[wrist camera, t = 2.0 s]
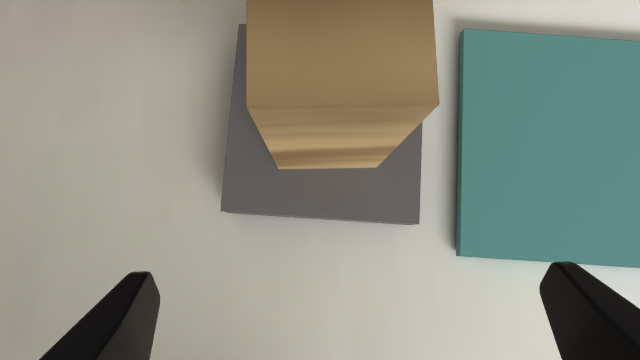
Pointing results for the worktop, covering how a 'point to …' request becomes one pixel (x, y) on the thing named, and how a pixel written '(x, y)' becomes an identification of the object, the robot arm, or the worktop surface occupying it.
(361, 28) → the oak block
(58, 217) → the worktop surface
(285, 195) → the charcoal board
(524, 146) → the teal mat
